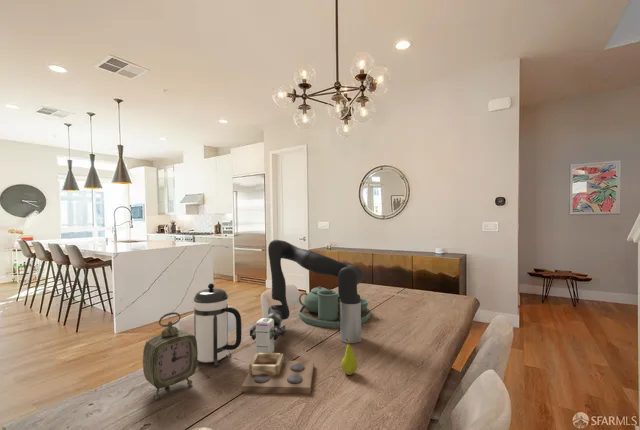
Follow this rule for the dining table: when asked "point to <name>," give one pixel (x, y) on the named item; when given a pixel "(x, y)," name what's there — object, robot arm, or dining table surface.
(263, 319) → the syrup box
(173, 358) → the tabletop clock
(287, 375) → the wooden board with discs
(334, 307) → the tea set
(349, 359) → the fruit
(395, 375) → the dining table surface
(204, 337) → the coffee press
